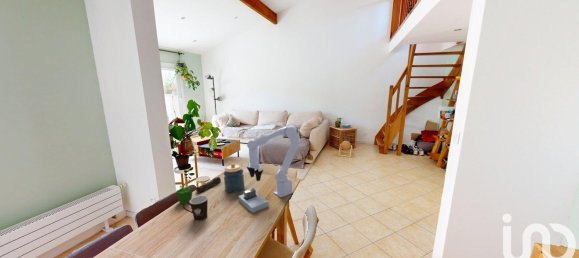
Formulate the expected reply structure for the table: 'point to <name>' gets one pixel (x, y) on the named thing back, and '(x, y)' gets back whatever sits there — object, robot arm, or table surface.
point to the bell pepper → (184, 195)
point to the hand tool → (208, 184)
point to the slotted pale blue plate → (254, 203)
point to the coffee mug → (198, 207)
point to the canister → (233, 178)
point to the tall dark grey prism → (249, 194)
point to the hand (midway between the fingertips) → (255, 178)
